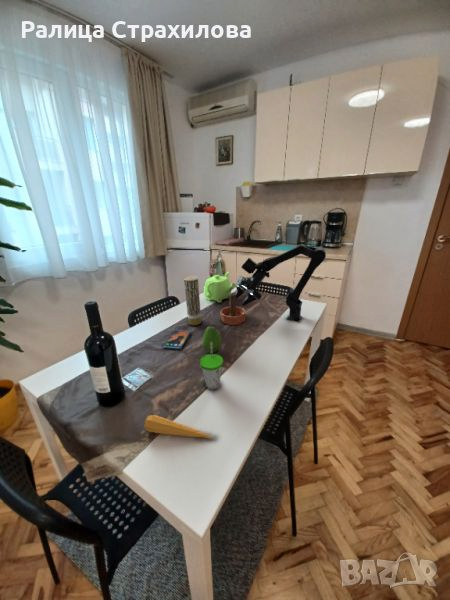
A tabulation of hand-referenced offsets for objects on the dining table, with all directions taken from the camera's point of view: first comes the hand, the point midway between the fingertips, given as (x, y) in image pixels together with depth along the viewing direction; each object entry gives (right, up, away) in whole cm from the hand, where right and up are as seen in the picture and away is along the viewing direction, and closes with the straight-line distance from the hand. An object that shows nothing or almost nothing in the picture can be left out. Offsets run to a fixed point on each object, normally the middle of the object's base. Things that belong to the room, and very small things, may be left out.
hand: (238, 302), depth 126 cm
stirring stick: (-3, -9, +2) cm, 9 cm away
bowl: (-3, -9, +3) cm, 10 cm away
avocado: (-12, -21, -24) cm, 34 cm away
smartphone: (-29, -18, -15) cm, 37 cm away
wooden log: (-23, -11, +1) cm, 26 cm away
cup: (-11, -29, -43) cm, 53 cm away
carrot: (-20, -36, -60) cm, 73 cm away
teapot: (-8, +2, +32) cm, 33 cm away
